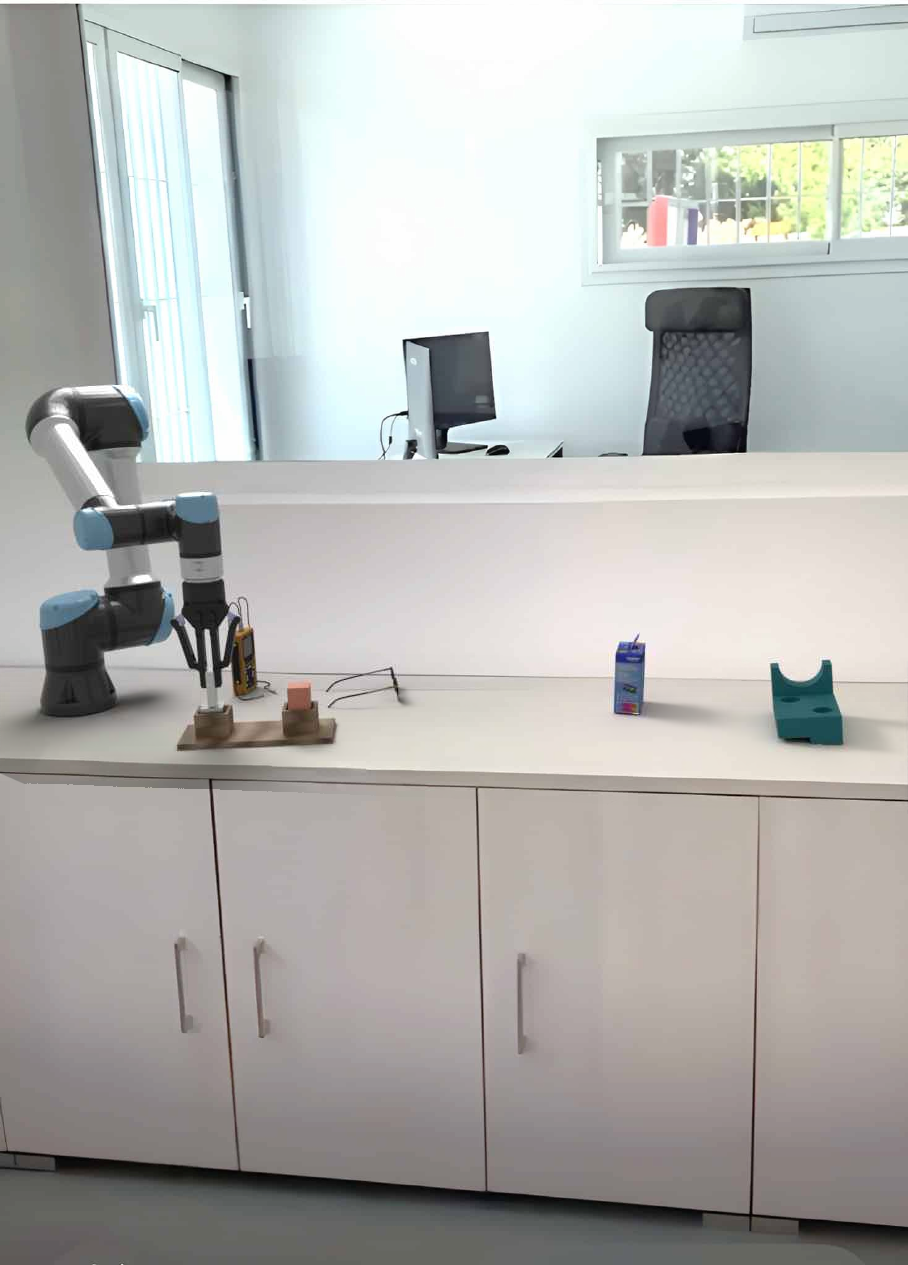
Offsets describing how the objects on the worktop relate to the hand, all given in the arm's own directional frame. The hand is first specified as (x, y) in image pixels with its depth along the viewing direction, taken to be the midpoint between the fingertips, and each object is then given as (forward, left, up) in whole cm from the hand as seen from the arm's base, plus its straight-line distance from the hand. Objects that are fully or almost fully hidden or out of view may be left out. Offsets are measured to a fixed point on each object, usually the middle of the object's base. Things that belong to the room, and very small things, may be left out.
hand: (213, 704), depth 214 cm
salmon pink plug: (+11, +11, -2) cm, 16 cm away
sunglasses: (+2, +35, -7) cm, 36 cm away
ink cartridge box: (+50, +62, -7) cm, 80 cm away
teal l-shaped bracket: (+84, +70, -7) cm, 109 cm away
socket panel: (+5, +6, -7) cm, 10 cm away
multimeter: (-19, +26, -7) cm, 32 cm away
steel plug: (0, 0, -5) cm, 5 cm away
